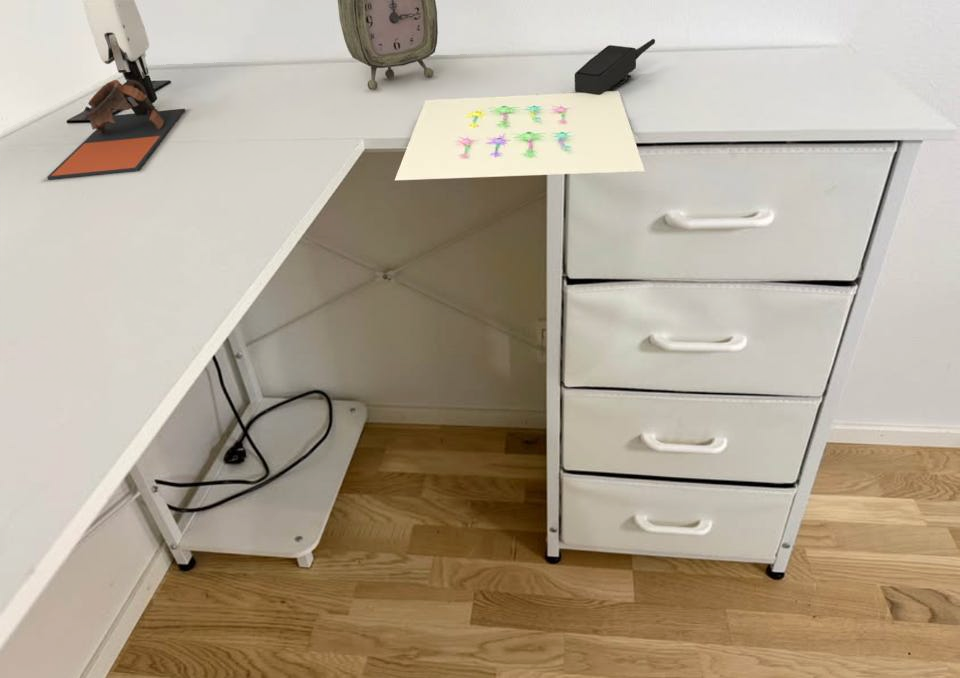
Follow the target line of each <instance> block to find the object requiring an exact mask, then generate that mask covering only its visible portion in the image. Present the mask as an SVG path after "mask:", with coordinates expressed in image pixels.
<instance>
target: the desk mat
mask: <svg viewBox="0 0 960 678" xmlns="http://www.w3.org/2000/svg"><path fill="white" fill-rule="evenodd" d="M158 112H159V113H160V115H161V116H162V118H163V119H164V123H163V126H162V127H161V129H160V130H158V129H157V128H156V126H155V124H154V123H153V122H151V121H150V120H149V117H150V115H151V114H150V113H149V112H148V113H147V115H140V116H136V115H135V113H134V112H133V113H125V114H124V113H123V114H115V115H114V114H113V117H114V120H115V122H116V123H110V122H109V123H106V124H105V130H104V132H101V131H99V130H97V129H95V130H94V132H92V133H91V134H90V135H89V136H88V137H87V138H86V139H85V140H84V141H83V142H81V144H80V145H79V146H78V147H76V149H74V150H73V151H72V152H71V154H69V155H68V156H67V157H66V158H65V159H64V160H63V161H62V162H61V163H60V164H59V165H58V166H57V167H55V169H54V170H53V171H52V172H50V173H49V175H47V176H46V178H47V180H48V181H49V180H50V181H51V180H60V179H69V178H70V179H71V178H79V177H88V176H99V175H108V174H119V173H127V172H128V173H129V172H138V171H140V170H141V168H142V167H143V166H144V164H145V163H146V162H147V160H148V159H149V158H150V157H151V156H152V154H153V153H154V151H156V149H157V148H158V147H159V145H160V144H161V143H162V141H164V139H165V138H166V136H167V135H168V134H169V133H170V131H171V130H172V129H173V127H174V126H175V125H176V123H178V121H179V120H180V118H181V117H182V116H183V114H184V113H185V112H186V109H185V108H175V109H166V110H158Z"/></svg>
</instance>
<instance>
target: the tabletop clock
mask: <svg viewBox="0 0 960 678" xmlns="http://www.w3.org/2000/svg"><path fill="white" fill-rule="evenodd" d="M436 2H437V1H436V0H337V7H338V16H339V17H338V18H339V23H340V27H341V32H342V35H343V40H344V43H345V45H346V48H347V50H348V52H349V54H350V55H351V58H352V59H355V60H356V61H358V62H360V63H362V64H364V65H366V66H368V67H370V73H371V74H370V78H371V79H370V80H368V82H367V84H366V85H367V87H368V89H369V90H370V91H374V90H376V89H377V87H378V83H377V81H376V74H377V69H387V70H385V72H384V75H385V77H386V78H387V79H389V80H391V79H393V78H394V76H395V71H394V70H393V69H392V68H394V67H402V66H403V67H404V66H406V65H410V64H413V63H418V64H419V65H420V67H422V69H423V75H424V76H425V77H426V78H431V77H433V75H434V71H433V69H432V68H431V67H427V65H426V64H425V62H424V60H426V59H428V58H429V57H431V56H432V55H433V54H434V53H436V50H437V45H438V34H439V32H438V31H439V30H438V9H437V8H438V7H437V3H436Z"/></svg>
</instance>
